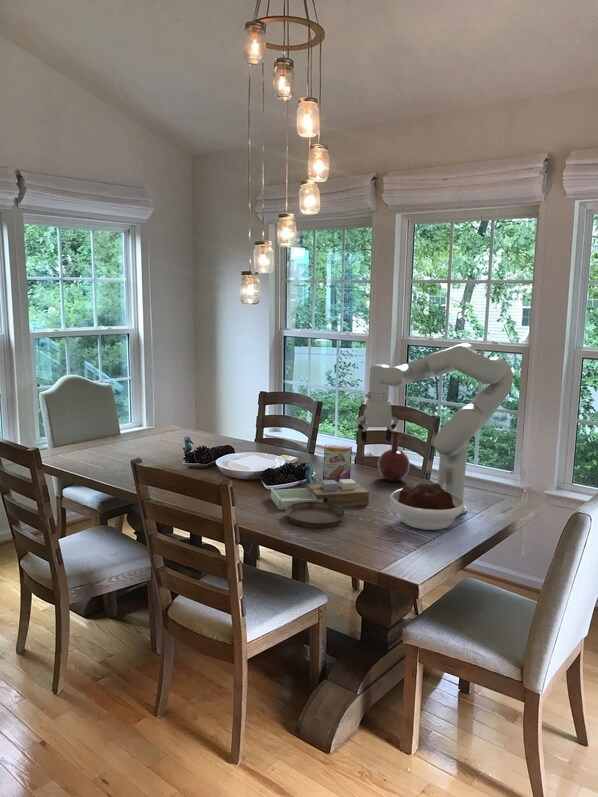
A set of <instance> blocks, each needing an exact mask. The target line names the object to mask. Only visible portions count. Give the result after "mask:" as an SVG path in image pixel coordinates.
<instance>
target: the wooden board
mask: <svg viewBox="0 0 598 797" xmlns="http://www.w3.org/2000/svg"><path fill="white" fill-rule="evenodd" d="M354 481H355V480H354ZM355 482H356V489H346V490H343V489H342V488H341V487H340V486H339V482H337V483H338V490H327V491H325V490H324V489H323V488H322V487H321V484H322V482H316V483H315V482H313V483H306V488H307V489H308V490H309V491H310V492H311V493H312V494H313V495H314V496H315V497H316V498H317V499H324V501H323V502H324V503H329V504H333V505H336V506H338V507H340V508H342V507H344V508H345V507H358V506H369V499H370V492H369V491H368V490H367V489H366V488H365V487H364V486H362V485H361V484H360V483H359V482H357V481H355Z"/></svg>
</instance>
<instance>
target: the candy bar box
mask: <svg viewBox="0 0 598 797" xmlns="http://www.w3.org/2000/svg"><path fill="white" fill-rule="evenodd" d="M323 450H324V452H323V468H322V469H323V471H322V480H335V481H336V482H339V480H341V479H351V476H352V474H351V472H352V458H353V446H352V445H341V444H340V445H339V444H325V445H324V449H323Z"/></svg>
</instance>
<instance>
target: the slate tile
mask: <svg viewBox="0 0 598 797" xmlns="http://www.w3.org/2000/svg"><path fill="white" fill-rule="evenodd" d="M321 483H322V484H321V487H322V488H323V489H324V490H325V491H327V490H338V483H337V482H336V481H335V480H323V479H322V480H321Z"/></svg>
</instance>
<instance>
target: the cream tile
mask: <svg viewBox="0 0 598 797" xmlns="http://www.w3.org/2000/svg"><path fill="white" fill-rule="evenodd" d="M356 482H357V481H356ZM356 482H355V480H354V479H352V478H350V479H341V480H339V486H340V487H341V488H342V489H343V490H346V489H356Z"/></svg>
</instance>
